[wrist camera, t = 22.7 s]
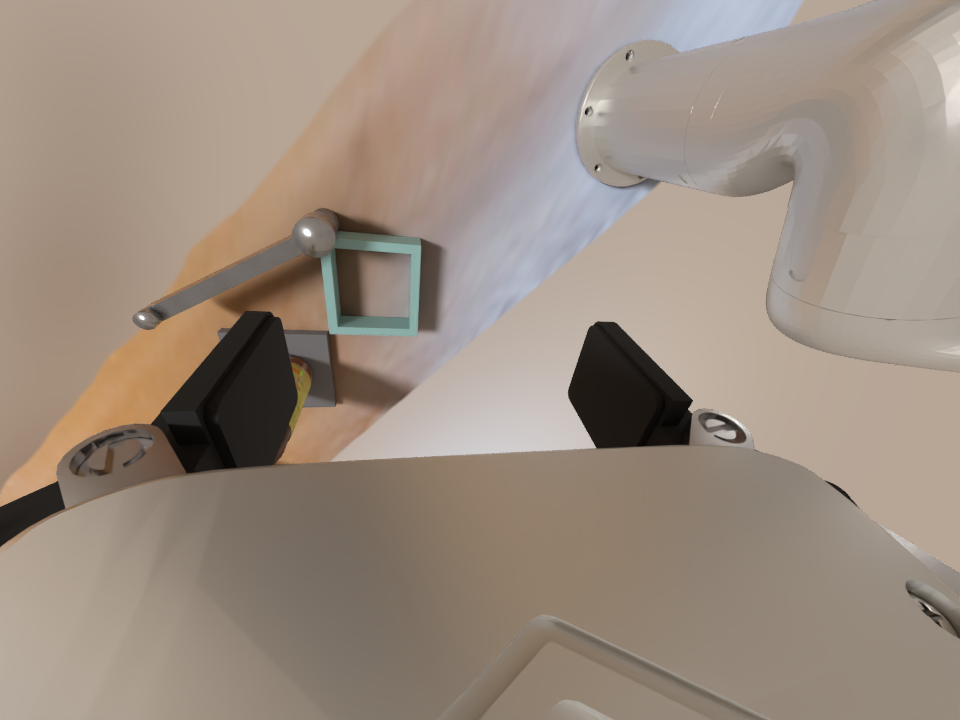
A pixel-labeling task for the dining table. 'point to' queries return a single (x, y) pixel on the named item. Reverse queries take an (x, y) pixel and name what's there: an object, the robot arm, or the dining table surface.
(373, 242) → the teal square frame
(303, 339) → the pad
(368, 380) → the dining table surface
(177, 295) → the bar
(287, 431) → the sauce bottle
